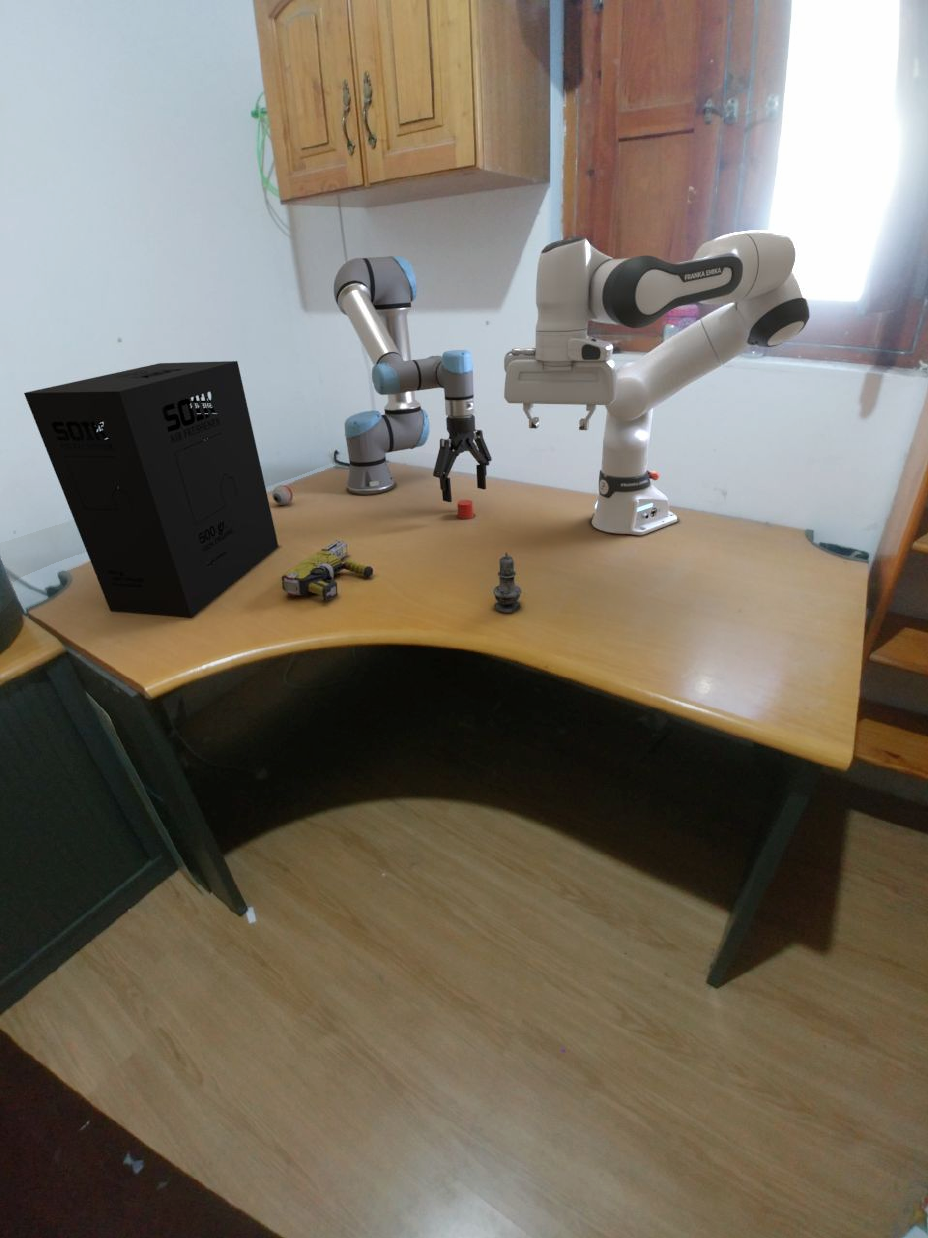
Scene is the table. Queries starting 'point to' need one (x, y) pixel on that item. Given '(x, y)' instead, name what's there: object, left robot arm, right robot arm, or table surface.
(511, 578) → the dark grey tapered piece
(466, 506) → the can
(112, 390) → the cardboard box
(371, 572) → the toy gun
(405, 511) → the table surface
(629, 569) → the table surface
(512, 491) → the table surface
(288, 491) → the eyeball
